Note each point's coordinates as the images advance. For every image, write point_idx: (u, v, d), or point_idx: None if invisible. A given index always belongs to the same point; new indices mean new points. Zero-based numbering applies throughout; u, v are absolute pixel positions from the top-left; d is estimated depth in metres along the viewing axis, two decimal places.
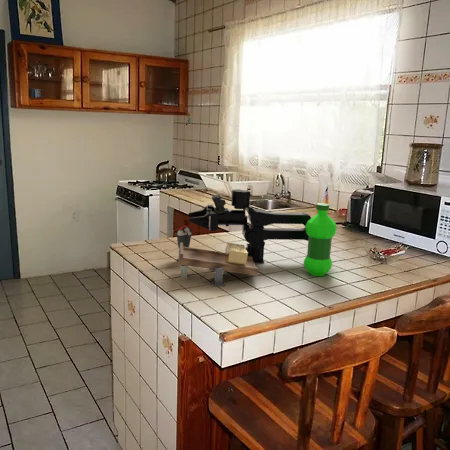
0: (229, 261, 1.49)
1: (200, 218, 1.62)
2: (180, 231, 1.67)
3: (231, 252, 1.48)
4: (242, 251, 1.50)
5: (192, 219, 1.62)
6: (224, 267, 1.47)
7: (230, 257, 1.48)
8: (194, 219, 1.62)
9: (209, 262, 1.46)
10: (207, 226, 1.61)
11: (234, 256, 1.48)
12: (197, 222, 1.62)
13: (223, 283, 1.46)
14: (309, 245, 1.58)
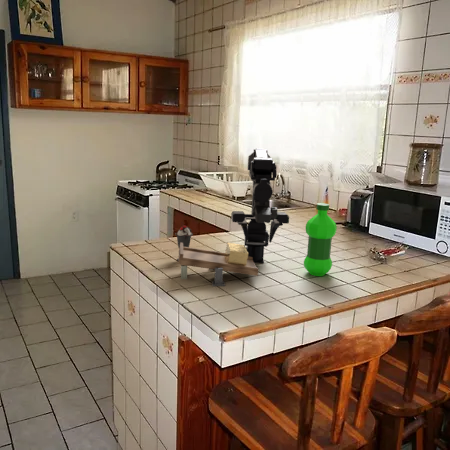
0: (229, 261, 1.49)
1: None
2: (180, 231, 1.67)
3: (231, 252, 1.48)
4: (242, 251, 1.50)
5: None
6: (224, 267, 1.47)
7: (230, 257, 1.48)
8: None
9: (209, 262, 1.46)
10: None
11: (234, 256, 1.48)
12: None
13: (223, 283, 1.46)
14: (309, 245, 1.58)
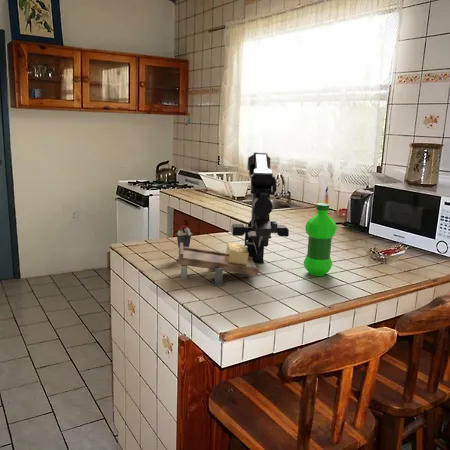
0: (230, 261, 1.49)
1: None
2: (180, 231, 1.67)
3: (232, 252, 1.48)
4: (243, 251, 1.50)
5: None
6: (224, 267, 1.47)
7: (231, 257, 1.48)
8: None
9: (209, 262, 1.46)
10: None
11: (235, 256, 1.48)
12: None
13: (223, 283, 1.46)
14: (309, 245, 1.58)
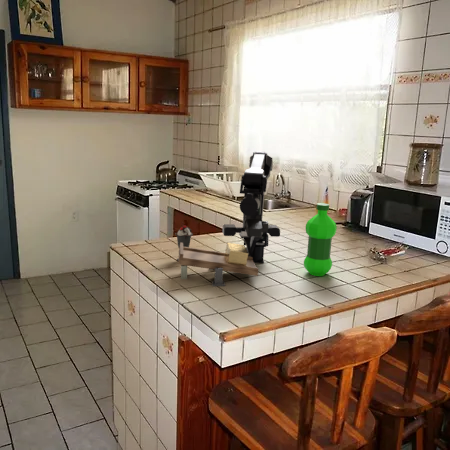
0: (229, 261, 1.49)
1: None
2: (180, 231, 1.67)
3: (231, 252, 1.48)
4: (242, 251, 1.50)
5: None
6: (224, 267, 1.47)
7: (230, 257, 1.48)
8: None
9: (209, 262, 1.46)
10: None
11: (234, 256, 1.48)
12: None
13: (223, 283, 1.46)
14: (309, 245, 1.58)
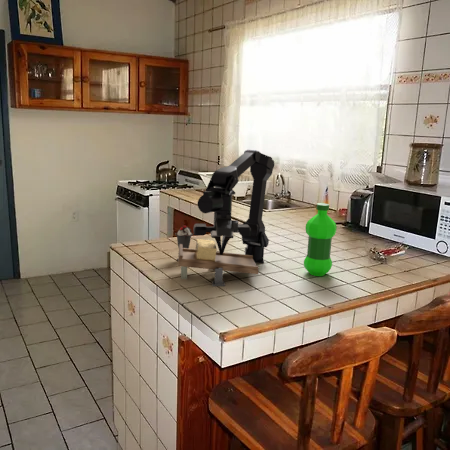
0: (198, 257, 1.47)
1: None
2: (180, 231, 1.67)
3: (199, 248, 1.47)
4: (211, 247, 1.48)
5: None
6: (224, 267, 1.47)
7: (199, 253, 1.47)
8: None
9: (209, 262, 1.47)
10: None
11: (203, 252, 1.47)
12: None
13: (223, 283, 1.46)
14: (309, 245, 1.58)
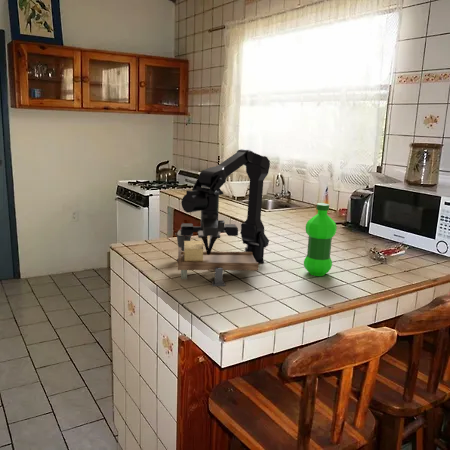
0: (185, 259, 1.47)
1: None
2: (180, 231, 1.67)
3: (186, 250, 1.46)
4: (197, 248, 1.48)
5: (210, 251, 1.52)
6: (224, 266, 1.47)
7: (186, 255, 1.47)
8: None
9: (208, 263, 1.47)
10: None
11: (190, 254, 1.47)
12: None
13: (223, 283, 1.46)
14: (309, 245, 1.58)
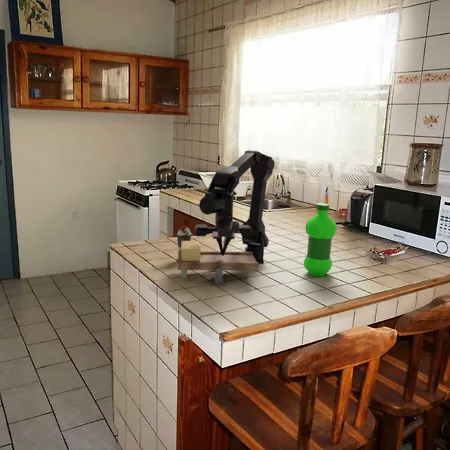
0: (183, 259, 1.47)
1: None
2: (180, 231, 1.67)
3: (183, 250, 1.46)
4: (194, 248, 1.48)
5: None
6: (224, 266, 1.47)
7: (183, 255, 1.46)
8: (225, 250, 1.53)
9: (208, 263, 1.47)
10: None
11: (187, 254, 1.46)
12: None
13: (223, 283, 1.46)
14: (309, 245, 1.58)
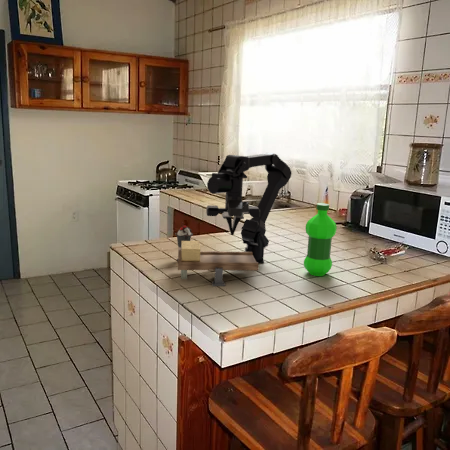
0: (183, 259, 1.47)
1: None
2: (180, 231, 1.67)
3: (183, 250, 1.46)
4: (194, 248, 1.48)
5: None
6: (224, 266, 1.47)
7: (183, 255, 1.46)
8: None
9: (208, 263, 1.47)
10: None
11: (187, 254, 1.46)
12: None
13: (223, 283, 1.46)
14: (309, 245, 1.58)
